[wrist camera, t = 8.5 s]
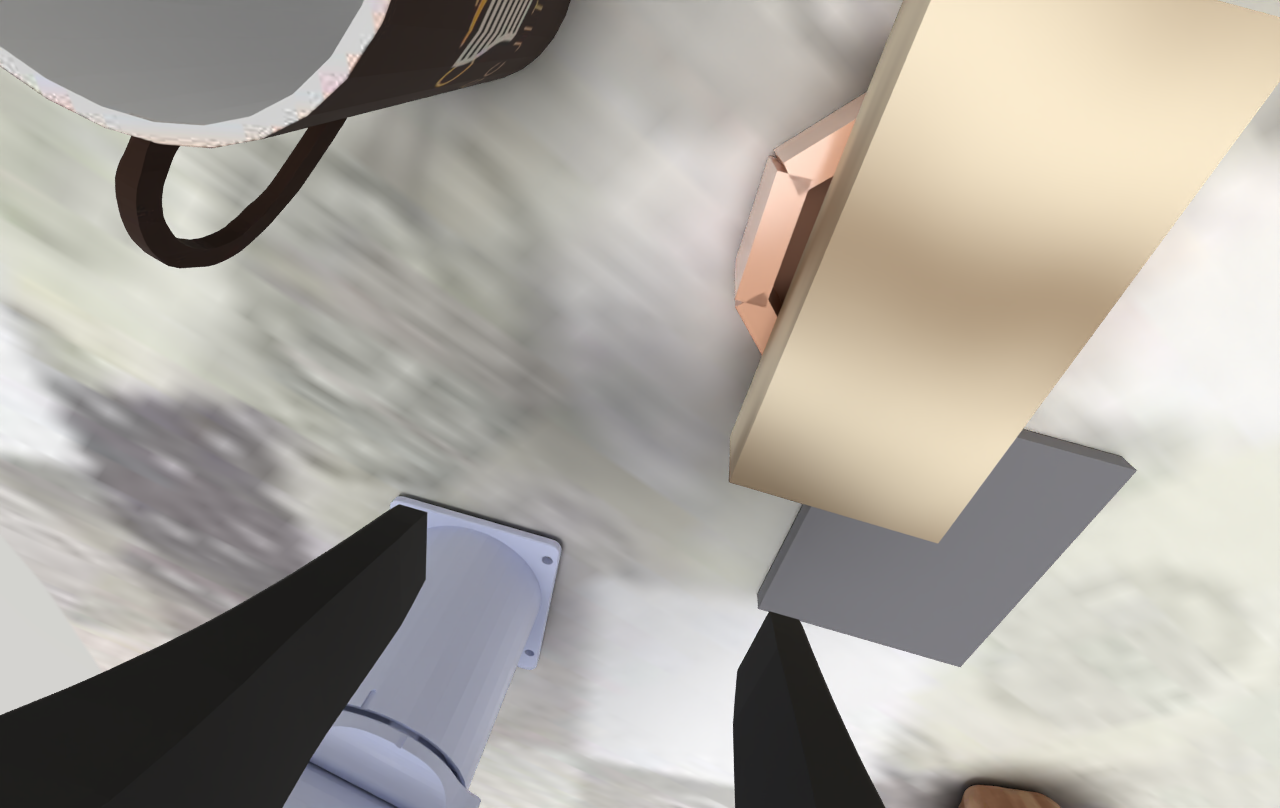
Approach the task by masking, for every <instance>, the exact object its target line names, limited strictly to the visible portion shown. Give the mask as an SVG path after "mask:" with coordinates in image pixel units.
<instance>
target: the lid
mask: <svg viewBox="0 0 1280 808" xmlns="http://www.w3.org/2000/svg"><path fill="white" fill-rule="evenodd" d="M1279 82H1280V17H1277V16H1273V15H1269V14H1266V13H1262V12H1258V11H1255V10H1251V9H1247V8H1243V7H1240V6H1236V5H1232V4H1229V3H1225V2H1221V1H1218V0H903V2H902V5H901V7H900V10H899V12H898V15H897V17H896V20H895V22H894V25H893V27H892V30H891V32H890V35H889V37H888V40H887V42H886V45H885V47H884V50H883V52H882V55H881V57H880V60H879V63H878V65H877V68H876V70H875V73H874V75H873V78H872V80H871V83H870V85H869V88H868V90H867V93H866V95H865V98H864V100H863V103H862V105H861V108H860V110H859V113H858V115H857V118H856V120H855V123H854V125H853V128H852V130H851V133H850V136H849V138H848V141H847V143H846V146H845V148H844V151H843V153H842V156H841V158H840V161H839V163H838V166H837V168H836V171H835V173H834V176H833V178H832V181H831V183H830V186H829V188H828V191H827V193H826V196H825V198H824V201H823V203H822V206H821V209H820V211H819V214H818V216H817V219H816V221H815V224H814V226H813V229H812V231H811V234H810V236H809V239H808V241H807V244H806V246H805V249H804V251H803V254H802V256H801V259H800V261H799V264H798V266H797V269H796V271H795V274H794V276H793V279H792V282H791V284H790V287H789V289H788V292H787V294H786V297H785V299H784V302H783V304H782V307H781V309H780V312H779V314H778V317H777V319H776V322H775V324H774V327H773V329H772V332H771V334H770V337H769V339H768V342H767V344H766V347H765V349H764V352H763V355H762V357H761V360H760V362H759V365H758V367H757V370H756V372H755V375H754V377H753V380H752V382H751V385H750V387H749V390H748V392H747V395H746V397H745V400H744V402H743V405H742V407H741V410H740V412H739V415H738V417H737V420H736V422H735V425H734V428H733V430H732V433H731V435H730V461H729V482H730V483H734V484H737V485H740V486H744V487H747V488H751V489H754V490H757V491H761V492H764V493H768V494H771V495H774V496H778V497H781V498H785V499H788V500H791V501H795V502H798V503H802V504H805V505H808V506H812V507H815V508H819V509H822V510H826V511H829V512H832V513H836V514H839V515H843V516H846V517H849V518H853V519H856V520H860V521H863V522H866V523H870V524H873V525H877V526H880V527H883V528H887V529H890V530H894V531H897V532H900V533H904V534H907V535H911V536H914V537H917V538H921V539H924V540H928V541H931V542H934V543H939V542H940V540H941V539H942V538H943V536H944V535H945V534H946V532H947V531H948V530H949V528H950V527H951V526H952V524H953V523H954V522H955V520H956V519H957V517H958V516H959V515H960V513H961V512H962V511H963V509H964V508H965V507H966V505H967V504H968V503H969V501H970V500H971V499H972V497H973V496H974V494H975V493H976V492H977V490H978V489H979V488H980V486H981V485H982V484H983V482H984V481H985V480H986V478H987V477H988V476H989V474H990V473H991V471H992V470H993V469H994V467H995V466H996V465H997V463H998V462H999V461H1000V459H1001V458H1002V457H1003V455H1004V454H1005V453H1006V451H1007V450H1008V448H1009V447H1010V446H1011V444H1012V443H1013V442H1014V440H1015V439H1016V438H1017V436H1018V435H1019V434H1020V432H1021V431H1022V430H1023V428H1024V427H1025V425H1026V424H1027V423H1028V421H1029V420H1030V419H1031V417H1032V416H1033V415H1034V413H1035V412H1036V411H1037V409H1038V408H1039V406H1040V405H1041V404H1042V402H1043V401H1044V400H1045V398H1046V397H1047V396H1048V394H1049V393H1050V392H1051V390H1052V389H1053V388H1054V386H1055V385H1056V383H1057V382H1058V381H1059V379H1060V378H1061V377H1062V375H1063V374H1064V373H1065V371H1066V370H1067V369H1068V367H1069V366H1070V365H1071V363H1072V362H1073V360H1074V359H1075V358H1076V356H1077V355H1078V354H1079V352H1080V351H1081V350H1082V348H1083V347H1084V346H1085V344H1086V343H1087V342H1088V340H1089V339H1090V337H1091V336H1092V335H1093V333H1094V332H1095V331H1096V329H1097V328H1098V327H1099V325H1100V324H1101V323H1102V321H1103V320H1104V319H1105V317H1106V316H1107V314H1108V313H1109V312H1110V310H1111V309H1112V308H1113V306H1114V305H1115V304H1116V302H1117V301H1118V300H1119V298H1120V297H1121V296H1122V294H1123V293H1124V291H1125V290H1126V289H1127V287H1128V286H1129V285H1130V283H1131V282H1132V281H1133V279H1134V278H1135V277H1136V275H1137V274H1138V273H1139V271H1140V270H1141V268H1142V267H1143V266H1144V264H1145V263H1146V262H1147V260H1148V259H1149V258H1150V256H1151V255H1152V254H1153V252H1154V251H1155V250H1156V248H1157V247H1158V245H1159V244H1160V243H1161V241H1162V240H1163V239H1164V237H1165V236H1166V235H1167V233H1168V232H1169V231H1170V229H1171V228H1172V226H1173V225H1174V224H1175V222H1176V221H1177V220H1178V218H1179V217H1180V216H1181V214H1182V213H1183V212H1184V210H1185V209H1186V208H1187V206H1188V205H1189V203H1190V202H1191V201H1192V199H1193V198H1194V197H1195V195H1196V194H1197V193H1198V191H1199V190H1200V189H1201V187H1202V186H1203V185H1204V183H1205V182H1206V180H1207V179H1208V178H1209V176H1210V175H1211V174H1212V172H1213V171H1214V170H1215V168H1216V167H1217V166H1218V164H1219V163H1220V162H1221V160H1222V159H1223V157H1224V156H1225V155H1226V153H1227V152H1228V151H1229V149H1230V148H1231V147H1232V145H1233V144H1234V143H1235V141H1236V140H1237V139H1238V137H1239V136H1240V134H1241V133H1242V132H1243V130H1244V129H1245V128H1246V126H1247V125H1248V124H1249V122H1250V121H1251V120H1252V118H1253V117H1254V116H1255V114H1256V113H1257V111H1258V110H1259V109H1260V107H1261V106H1262V105H1263V103H1264V102H1265V101H1266V99H1267V98H1268V97H1269V95H1270V94H1271V93H1272V91H1273V90H1274V88H1275V87H1276V86H1277V84H1278V83H1279Z"/></svg>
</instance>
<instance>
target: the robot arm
mask: <svg viewBox="0 0 1280 808" xmlns="http://www.w3.org/2000/svg"><path fill="white" fill-rule="evenodd" d="M561 551H562V550H561V546H560V544H559V543H558V542H557V541H555V540H552V539H549V538H546V537H542V536H539V535H535V534H532V533H528V532H525V531H521V530H518V529H514V528H511V527H507V526H504V525H500V524H497V523H494V522H490V521H487V520H483V519H480V518H476V517H473V516H469V515H466V514H462V513H459V512H455V511H452V510H448V509H445V508H441V507H438V506H435V505H431V504H428V503H424V502H421V501H417V500H414V499H410V498H407V497H402V496H399V497H396V498H395V499H394V500H393V501H392V502H391V504H390V510H388V511H387V512H385V513H384V514H382V515H381V516H380V517H378V518H377V519H375V520H374V521H372V522H371V523H369V524H368V525H366V526H365V527H363V528H362V529H360V530H359V531H357V532H356V533H354V534H353V535H351V536H350V537H348V538H347V539H345V540H344V541H342V542H341V543H339V544H338V545H336V546H335V547H333V548H332V549H330V550H328V551H327V552H325V553H324V554H322V555H321V556H319V557H317V558H316V559H314V560H313V561H311V562H309V563H308V564H306V565H305V566H303V567H302V568H300V569H298V570H297V571H295V572H294V573H292V574H290V575H289V576H287V577H285V578H284V579H282V580H280V581H279V582H277V583H275V584H274V585H272V586H270V587H268V588H267V589H265V590H263V591H262V592H260V593H258V594H256V595H255V596H253V597H251V598H249V599H248V600H246V601H244V602H243V603H241V604H239V605H237V606H236V607H234V608H232V609H230V610H228V611H227V612H225V613H223V614H221V615H219V616H217V617H215V618H214V619H212V620H210V621H208V622H206V623H204V624H202V625H200V626H198V627H197V628H195V629H193V630H191V631H189V632H187V633H185V634H183V635H181V636H179V637H177V638H175V639H173V640H171V641H169V642H167V643H165V644H163V645H161V646H159V647H157V648H154V649H152V650H150V651H148V652H146V653H144V654H142V655H139V656H137V657H135V658H133V659H131V660H129V661H127V662H124V663H122V664H120V665H118V666H116V667H114V668H112V669H110V670H107V671H105V672H103V673H101V674H98V675H96V676H94V677H92V678H89V679H87V680H85V681H83V682H80V683H78V684H76V685H73V686H71V687H69V688H66V689H64V690H61V691H59V692H56V693H54V694H51V695H49V696H47V697H44V698H42V699H39V700H37V701H34V702H32V703H30V704H27V705H24V706H22V707H19V708H17V709H14V710H12V711H10V712H7V713H5V714H2V715H0V808H478V807H479V805H480V802H481V800H480V798H479V797H478V796H476V795H474V794H473V793H471V792H470V791H469V790H468V789H469V786H470V784H471V781H472V779H473V776H474V773H475V771H476V768H477V766H478V763H479V761H480V758H481V756H482V753H483V751H484V748H485V746H486V743H487V740H488V738H489V735H490V733H491V730H492V728H493V725H494V723H495V720H496V718H497V715H498V713H499V710H500V707H501V705H502V702H503V700H504V697H505V695H506V692H507V690H508V687H509V685H510V682H511V680H512V677H513V675H514V672H515V669H516V667H521V668H524V669H528V670H531V669H534V668H536V666H537V663H538V660H539V656H540V651H541V646H542V641H543V636H544V632H545V627H546V622H547V617H548V613H549V608H550V603H551V598H552V593H553V589H554V584H555V579H556V574H557V570H558V565H559V560H560V555H561ZM546 556H548V557H550V558H548V557H546ZM733 746H734V783H735V808H885V806H884V804H883V802H882V800H881V798H880V796H879V794H878V792H877V790H876V789H875V787H874V785H873V783H872V781H871V779H870V777H869V775H868V773H867V771H866V769H865V767H864V765H863V763H862V761H861V759H860V757H859V755H858V753H857V751H856V749H855V746H854V744H853V742H852V740H851V738H850V736H849V733H848V731H847V729H846V727H845V725H844V723H843V721H842V718H841V716H840V714H839V712H838V710H837V707H836V705H835V703H834V701H833V698H832V696H831V694H830V692H829V689H828V687H827V684H826V682H825V680H824V677H823V675H822V673H821V670H820V668H819V666H818V663H817V661H816V658H815V656H814V653H813V651H812V649H811V646H810V644H809V641H808V639H807V636H806V634H805V631H804V629H803V626H802V624H801V622H800V620H799V619H795V618H792V617H788V616H785V615H781V614H778V613H774V612H771V611H769V613H768V615H767V616H766V618H765V620H764V622H763V624H762V626H761V628H760V629H759V631H758V633H757V635H756V637H755V639H754V641H753V642H752V644H751V646H750V648H749V650H748V652H747V654H746V655H745V657H744V659H743V661H742V663H741V665H740V667H739V668H738V670H737V680H736V692H735V704H734V718H733Z"/></svg>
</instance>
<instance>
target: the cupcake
mask: <svg viewBox="0 0 1280 808" xmlns="http://www.w3.org/2000/svg"><path fill="white" fill-rule="evenodd" d="M958 808H1061V807H1060V806H1059V805H1058V804H1057V803H1056V802H1054V801H1053V800H1051V799H1050V798H1049V797H1047V796H1045V795H1043V794H1041V793H1037V792H1028V791H1023V790H1016V789H1009V788H1003V787H999V786H986V785H974V786H970V787H969V788H967V789H966V790H965V792H964V794H963V797H962V801H961V803H960V805H959V807H958Z"/></svg>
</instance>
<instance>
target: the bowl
mask: <svg viewBox="0 0 1280 808" xmlns="http://www.w3.org/2000/svg"><path fill="white" fill-rule="evenodd" d="M866 93H867V92H865V93H864V94H862V95H861V96H859V97H857V98H856V99H854V100H853V101H851V102H849V103H848V104H846V105H845V106H843V107H841V108H840V109H838V110H836V111H835V112H833V113H832V114H830V115H828V116H827V117H825V118H824V119H822V120H820V121H819V122H817V123H816V124H814V125H812V126H811V127H809V128H807V129H806V130H804V131H803V132H801V133H799V134H798V135H796V136H795V137H793V138H791V139H790V140H788V141H787V142H785V143H783V144H782V145H780V146H778V147H777V148H775V149H774V152H775V154H776V156H777V158H775V157H771V156H768V159H767V163H766V166H765V169H764V172H763V175H762V178H761V181H760V184H759V188H758V191H757V194H756V197H755V200H754V203H753V206H752V209H751V213H750V216H749V219H748V222H747V225H746V228H745V231H744V234H743V237H742V241H741V244H740V247H739V250H738V253H737V256H736V259H735V308H736V309H737V311H738V313H739V315H740V317H741V318H742V320H743V322H744V324H745V326H746V327H747V329H748V331H749V333H750V335H751V336H752V338H753V340H754V342H755V344H756V346H757V347H758V349H759V351H760V353H761V355H763V352H764V349H765V347H766V344H767V342H768V339H769V337H770V334H771V332H772V329H773V327H774V324H775V322H776V319H777V317H778V314H779V312H780V309H781V307H782V304H783V302H784V299H785V297H786V294H787V292H788V289H789V287H790V284H791V282H792V279H793V276H794V274H795V271H796V269H797V266H798V264H799V261H800V259H801V256H802V254H803V251H804V249H805V246H806V244H807V241H808V239H809V236H810V234H811V231H812V229H813V226H814V224H815V221H816V219H817V216H818V214H819V211H820V209H821V206H822V203H823V201H824V198H825V196H826V193H827V191H828V188H829V186H830V183H831V181H832V178H833V176H834V173H835V171H836V168H837V166H838V163H839V161H840V158H841V156H842V153H843V151H844V148H845V146H846V143H847V141H848V138H849V136H850V133H851V130H852V128H853V125H854V123H855V120H856V118H857V115H858V113H859V110H860V108H861V105H862V103H863V100H864V98H865V95H866Z"/></svg>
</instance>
